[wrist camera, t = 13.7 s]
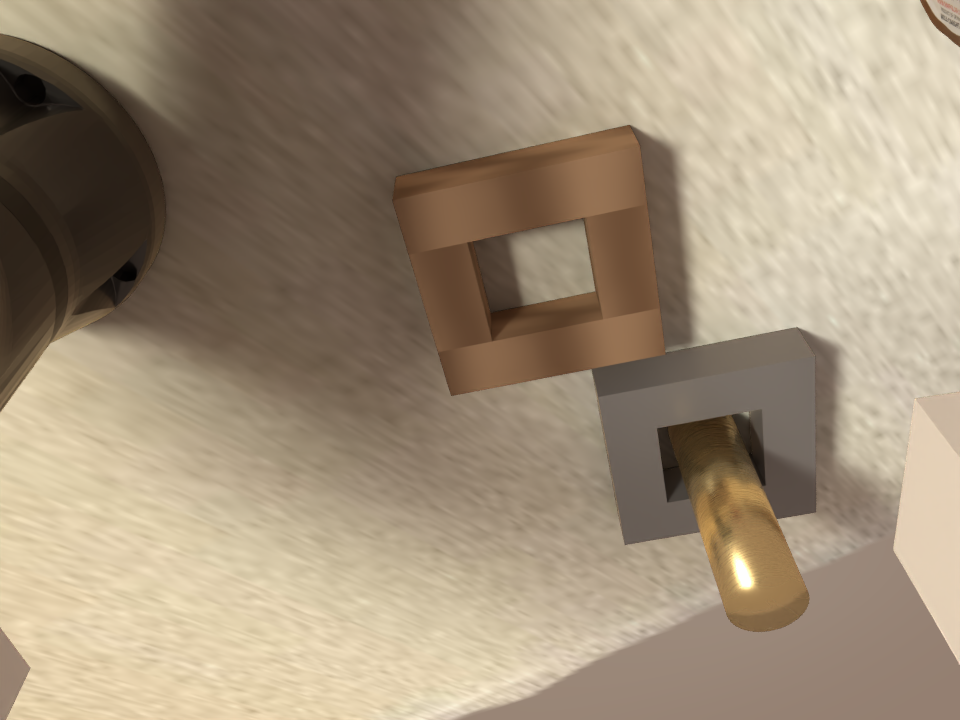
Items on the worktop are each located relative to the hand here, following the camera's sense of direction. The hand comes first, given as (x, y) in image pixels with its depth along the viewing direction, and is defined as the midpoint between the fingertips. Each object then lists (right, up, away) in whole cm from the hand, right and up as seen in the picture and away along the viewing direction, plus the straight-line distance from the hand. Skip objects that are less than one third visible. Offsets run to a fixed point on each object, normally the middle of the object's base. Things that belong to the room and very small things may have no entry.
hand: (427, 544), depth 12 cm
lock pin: (+14, -2, +41) cm, 44 cm away
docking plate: (+14, -2, +41) cm, 44 cm away
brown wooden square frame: (+4, +8, +35) cm, 36 cm away
